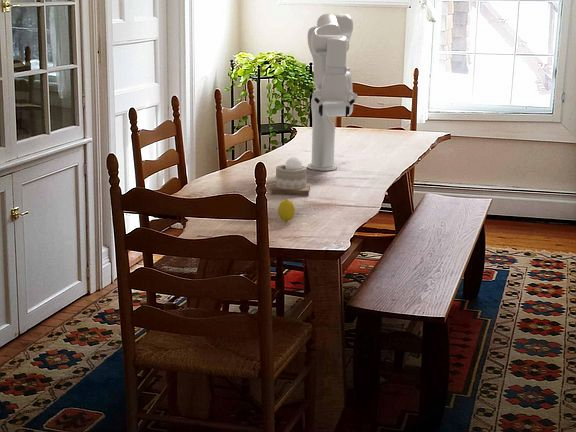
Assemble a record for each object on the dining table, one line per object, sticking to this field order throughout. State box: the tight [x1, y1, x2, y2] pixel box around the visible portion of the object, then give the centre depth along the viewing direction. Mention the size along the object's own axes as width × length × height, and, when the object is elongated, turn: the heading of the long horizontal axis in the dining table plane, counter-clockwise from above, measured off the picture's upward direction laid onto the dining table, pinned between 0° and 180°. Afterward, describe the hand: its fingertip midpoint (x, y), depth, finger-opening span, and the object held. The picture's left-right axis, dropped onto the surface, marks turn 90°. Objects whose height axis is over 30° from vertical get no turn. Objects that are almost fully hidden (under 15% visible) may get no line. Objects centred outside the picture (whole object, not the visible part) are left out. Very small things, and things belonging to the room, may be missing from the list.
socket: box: [270, 164, 311, 197], centre depth 350 cm, size 14×14×9 cm
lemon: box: [277, 198, 296, 223], centre depth 307 cm, size 6×6×8 cm
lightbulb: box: [284, 157, 303, 170], centre depth 350 cm, size 6×6×11 cm
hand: (333, 115), depth 355 cm, fingers open, 9 cm apart
